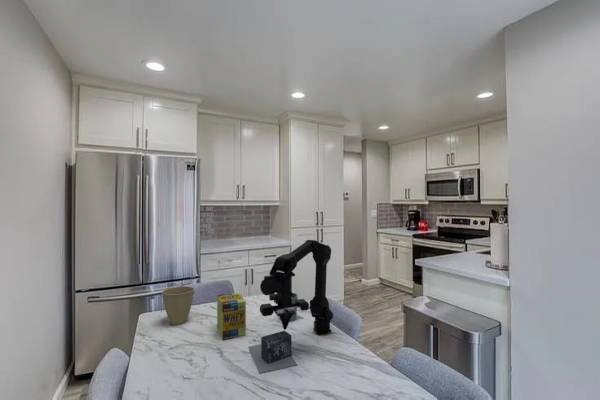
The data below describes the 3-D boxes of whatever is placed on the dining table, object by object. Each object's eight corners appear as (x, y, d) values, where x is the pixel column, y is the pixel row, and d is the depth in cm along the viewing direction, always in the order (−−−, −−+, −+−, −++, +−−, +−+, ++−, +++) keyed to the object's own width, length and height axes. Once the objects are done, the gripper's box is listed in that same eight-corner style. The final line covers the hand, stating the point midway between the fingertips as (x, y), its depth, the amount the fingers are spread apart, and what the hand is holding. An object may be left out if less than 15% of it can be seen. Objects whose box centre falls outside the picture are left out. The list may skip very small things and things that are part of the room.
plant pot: (197, 323, 143) (197, 291, 143) (165, 331, 134) (165, 296, 135) (190, 314, 155) (190, 284, 155) (159, 320, 147) (159, 289, 147)
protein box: (222, 340, 124) (222, 304, 124) (217, 327, 138) (216, 294, 138) (246, 336, 128) (246, 301, 129) (238, 323, 142) (238, 291, 143)
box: (292, 355, 111) (267, 364, 105) (284, 349, 115) (260, 357, 110) (292, 335, 111) (267, 342, 105) (284, 329, 116) (260, 336, 110)
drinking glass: (301, 317, 149) (301, 294, 149) (290, 324, 140) (290, 299, 141) (285, 313, 154) (285, 291, 155) (273, 320, 146) (273, 296, 146)
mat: (281, 341, 123) (281, 340, 123) (297, 365, 105) (297, 364, 105) (248, 347, 118) (248, 346, 118) (259, 373, 99) (259, 373, 99)
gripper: (299, 281, 125) (299, 318, 124) (256, 286, 118) (256, 324, 118) (309, 288, 114) (309, 328, 114) (263, 294, 107) (263, 336, 107)
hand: (284, 329), depth 113 cm, fingers closed
